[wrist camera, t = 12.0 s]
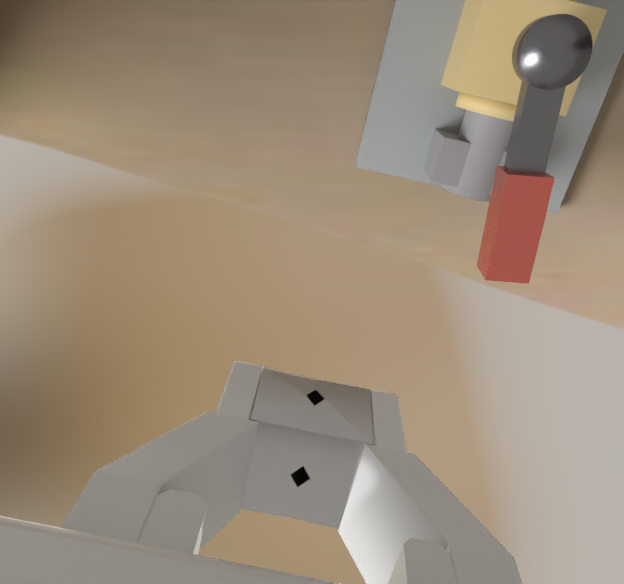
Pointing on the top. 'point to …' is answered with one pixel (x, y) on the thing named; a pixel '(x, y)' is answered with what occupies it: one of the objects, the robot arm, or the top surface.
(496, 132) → the valve assembly
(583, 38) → the lever
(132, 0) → the top surface
